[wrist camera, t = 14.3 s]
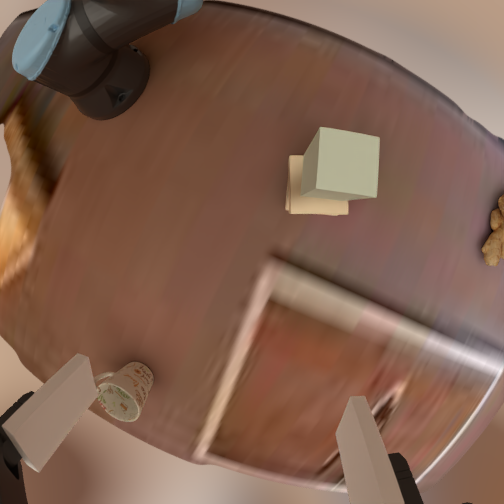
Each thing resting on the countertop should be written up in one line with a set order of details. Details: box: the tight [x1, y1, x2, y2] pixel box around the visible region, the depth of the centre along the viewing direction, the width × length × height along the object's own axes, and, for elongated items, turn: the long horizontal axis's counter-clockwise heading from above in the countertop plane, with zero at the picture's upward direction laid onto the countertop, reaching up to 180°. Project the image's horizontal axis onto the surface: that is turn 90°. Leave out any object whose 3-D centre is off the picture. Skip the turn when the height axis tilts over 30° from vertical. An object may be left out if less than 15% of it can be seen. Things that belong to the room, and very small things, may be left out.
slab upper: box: [288, 155, 348, 215], centre depth 34 cm, size 7×7×4 cm
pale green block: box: [300, 127, 379, 201], centre depth 26 cm, size 5×5×12 cm
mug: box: [93, 362, 154, 422], centre depth 42 cm, size 8×13×10 cm, turn 93°
